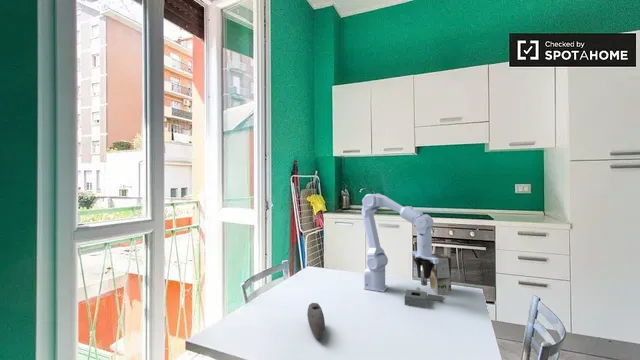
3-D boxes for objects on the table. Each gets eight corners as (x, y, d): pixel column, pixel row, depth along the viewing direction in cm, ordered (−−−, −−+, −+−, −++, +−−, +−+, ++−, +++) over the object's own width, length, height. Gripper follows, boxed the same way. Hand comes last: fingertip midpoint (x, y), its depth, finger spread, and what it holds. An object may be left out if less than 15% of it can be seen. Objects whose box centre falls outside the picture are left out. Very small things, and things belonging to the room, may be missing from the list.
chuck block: (404, 304, 115) (404, 296, 115) (408, 291, 129) (408, 284, 129) (425, 308, 112) (425, 299, 112) (427, 294, 126) (427, 286, 126)
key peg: (424, 286, 117) (423, 266, 117) (419, 284, 119) (418, 265, 120) (428, 284, 118) (427, 265, 119) (423, 283, 121) (423, 264, 121)
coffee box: (451, 294, 125) (451, 257, 126) (437, 294, 126) (436, 257, 126) (443, 287, 135) (443, 253, 135) (429, 287, 135) (429, 252, 135)
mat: (426, 300, 120) (426, 298, 120) (427, 295, 125) (427, 293, 125) (442, 302, 117) (442, 301, 117) (442, 297, 123) (442, 296, 123)
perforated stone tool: (328, 343, 87) (328, 320, 87) (311, 345, 87) (310, 321, 87) (321, 320, 102) (321, 301, 102) (306, 321, 102) (306, 301, 102)
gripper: (405, 241, 125) (405, 272, 125) (428, 248, 111) (428, 283, 111) (419, 240, 127) (419, 271, 127) (442, 247, 113) (443, 281, 113)
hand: (424, 276), depth 119 cm, fingers closed on key peg, 2 cm apart
